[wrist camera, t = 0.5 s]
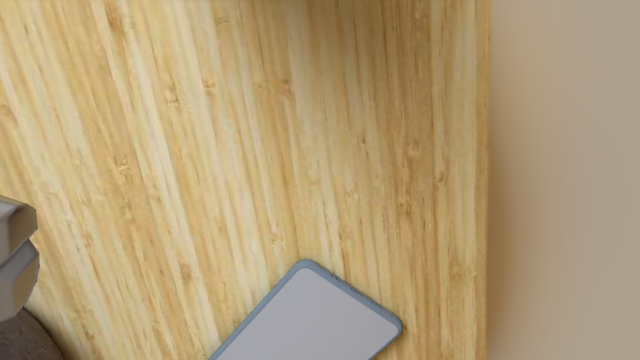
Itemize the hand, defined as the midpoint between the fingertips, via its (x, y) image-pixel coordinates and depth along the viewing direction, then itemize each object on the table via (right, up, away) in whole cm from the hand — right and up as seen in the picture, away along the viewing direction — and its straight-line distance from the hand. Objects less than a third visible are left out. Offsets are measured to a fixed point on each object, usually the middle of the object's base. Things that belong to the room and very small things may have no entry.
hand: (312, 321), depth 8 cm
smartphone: (-2, -10, +34) cm, 35 cm away
